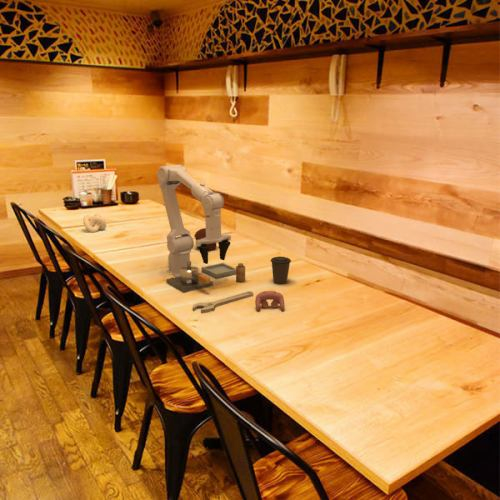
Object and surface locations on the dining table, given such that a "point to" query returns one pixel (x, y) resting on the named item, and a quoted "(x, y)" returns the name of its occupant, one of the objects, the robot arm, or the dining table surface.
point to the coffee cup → (280, 269)
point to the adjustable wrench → (220, 302)
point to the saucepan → (192, 274)
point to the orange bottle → (240, 273)
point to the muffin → (202, 234)
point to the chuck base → (187, 284)
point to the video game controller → (269, 295)
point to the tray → (219, 270)
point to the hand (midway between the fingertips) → (214, 261)
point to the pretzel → (94, 223)
